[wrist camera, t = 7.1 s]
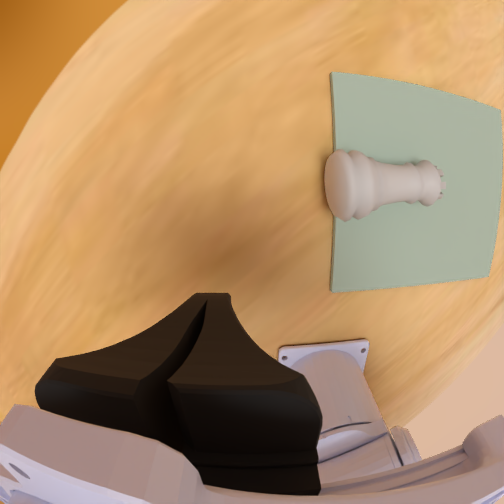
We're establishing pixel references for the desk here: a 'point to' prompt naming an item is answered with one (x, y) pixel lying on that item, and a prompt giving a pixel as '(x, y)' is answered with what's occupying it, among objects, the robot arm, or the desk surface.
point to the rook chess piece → (377, 184)
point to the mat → (417, 215)
